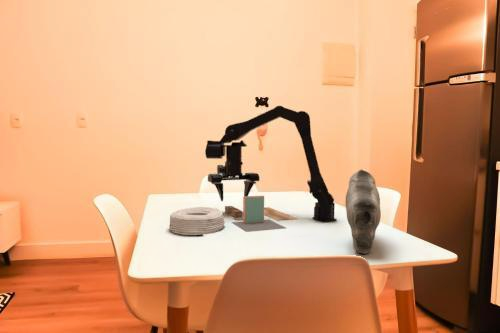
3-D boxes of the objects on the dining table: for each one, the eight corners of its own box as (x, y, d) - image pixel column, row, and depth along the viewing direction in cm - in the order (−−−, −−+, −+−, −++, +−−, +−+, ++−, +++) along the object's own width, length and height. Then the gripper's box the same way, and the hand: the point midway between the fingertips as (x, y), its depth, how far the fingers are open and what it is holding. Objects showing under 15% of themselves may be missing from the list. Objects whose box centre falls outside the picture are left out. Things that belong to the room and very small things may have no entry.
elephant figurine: (382, 259, 87) (385, 175, 86) (344, 255, 89) (346, 174, 88) (374, 233, 111) (376, 168, 110) (344, 231, 114) (346, 167, 112)
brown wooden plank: (222, 214, 141) (222, 206, 140) (234, 213, 143) (234, 205, 142) (236, 222, 125) (236, 214, 125) (249, 221, 127) (249, 213, 127)
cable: (214, 222, 127) (214, 205, 126) (233, 233, 111) (233, 214, 111) (164, 226, 119) (164, 208, 119) (176, 239, 104) (176, 218, 103)
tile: (262, 221, 125) (262, 195, 124) (264, 222, 123) (264, 196, 123) (243, 222, 122) (243, 196, 122) (245, 224, 121) (245, 197, 120)
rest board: (269, 209, 151) (269, 207, 151) (297, 220, 129) (297, 218, 129) (251, 210, 148) (251, 208, 148) (277, 222, 126) (277, 220, 126)
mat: (268, 221, 128) (268, 219, 128) (287, 229, 115) (287, 228, 115) (231, 224, 123) (231, 222, 123) (246, 233, 110) (246, 231, 110)
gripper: (249, 157, 146) (248, 196, 147) (203, 158, 139) (203, 198, 140) (260, 159, 135) (259, 200, 136) (211, 159, 128) (211, 203, 129)
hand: (233, 200), depth 136 cm, fingers open, 9 cm apart
